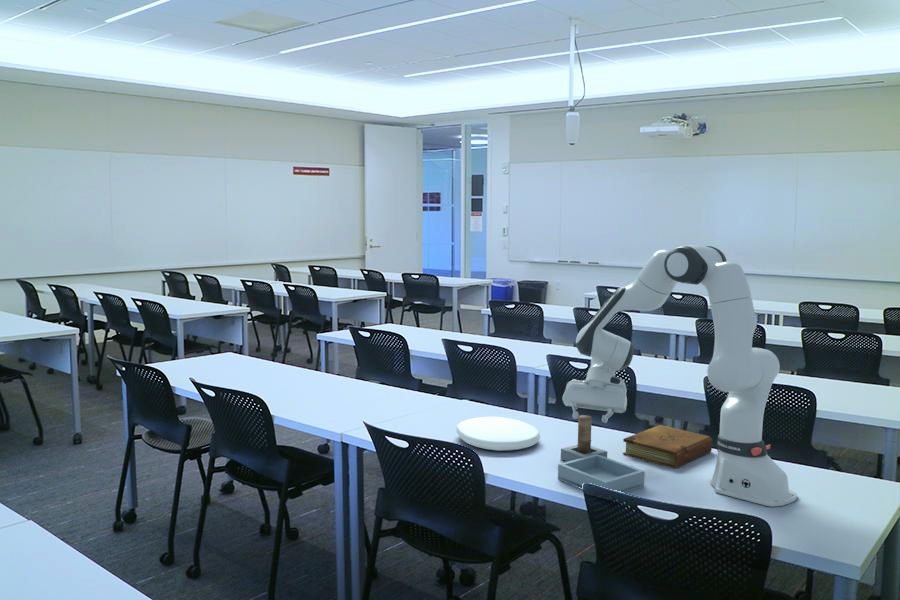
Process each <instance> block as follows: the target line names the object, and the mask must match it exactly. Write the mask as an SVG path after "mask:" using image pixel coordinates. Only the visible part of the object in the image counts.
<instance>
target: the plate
mask: <svg viewBox="0 0 900 600" xmlns="http://www.w3.org/2000/svg"><path fill="white" fill-rule="evenodd" d="M456 433H457V435H458V437H459V438H460V439H461V440H462V441H463V442H465V443H466V444H469V445H471V446H473V447H476V448H479V449H485V450H490V451H497V452H500V451H504V452H505V451H516V450H521V449H526V448H530V447H532V446H534V445H536V444H538V443H539V441H540V439H541V436H540V432H539V431H538V429H537V428H536V427H534V426H533V425H532V424H529V423H527V422H525V421H522V420H518V419H515V418H509V417H503V416H482V417H481V416H480V417H474V418H473V417H472V418H470V419H465V420H462V421H461V422H459V423H458V424H457V426H456Z"/></svg>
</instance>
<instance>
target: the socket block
mask: <svg viewBox="0 0 900 600" xmlns="http://www.w3.org/2000/svg"><path fill="white" fill-rule="evenodd" d="M577 449H578V444H574V445H571V446H567V447H563V448H560V460H561V459H562V460H561V461H563V460H565V461H564V462H566V461H567V462H568V461H572V460H576V459H580V458H584V457H587V456H591V455H595V454H598V455H601V456H604V457H606V458H608V451H607V450H604V449H601V448H599V447H595V446H593V445H591V453H588V454H582V453H579V452H577Z"/></svg>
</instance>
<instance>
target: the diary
mask: <svg viewBox="0 0 900 600" xmlns="http://www.w3.org/2000/svg"><path fill="white" fill-rule="evenodd" d="M622 440H623V441H622V442H623V443H625V452H622V455H623V454H624V456H627V455H628V457H631V458H634V457H635V459H638V458H639V460H642V459H643V460H642V461H646V462H649V461H650V463H653V462H654V464H657V465H661V466H664V465H665V466H664V467H669V468H673V469H678V468H680V467H682V466H684V465H686V464H689V463H691V462H693V461H695V460H696V459H699V458H701V457H702V456H704V455H707V454H709V453H711V452H712V448H713V447H712V445H713V438H712V437H711V436H709V435H707V434H706V435H705V434H701V433H696V432H694V431H693V432H692V431H688V430H684V429H679V428H676V427H671V426H666V425H662V424H658V425H655V426H654V427H653V426H652V427H651V428H648V429H645V430H643V431H640V432H638V433H635V434H632V435H630V436H627V437H624V438H623V439H622Z"/></svg>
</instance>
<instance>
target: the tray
mask: <svg viewBox="0 0 900 600" xmlns="http://www.w3.org/2000/svg"><path fill="white" fill-rule="evenodd" d="M557 465H558V466H557V480H558V479H559V481H561V482H564V483H566V484H568V483H569V485H570V484H571V485H570V486H573V485H574V486H573V487H575V486H577V487H576V488H578V487H580V488H582V484H583V483H592V484H595V485H598V486H602V487H605V488H608V489H612V490H617V491H621V492H625V493H624V494H626V493H628V491H629V492H631V491H636V490H639V489H641V488H644V487H645V478H646V477H645V475H646V474H645V473H646V471H645V470H643V469H640V468H637V467H634V466H631V465H629V464H625V463H623V462H620V461H617V460H615V459H612V458H609V457H607V458H606V457H604V456H601V455H598V454H595V455H591V456H587V457H584V458H580V459H576V460H572V461H568V462H566V461H564V462H561V463H558V464H557ZM580 488H579V489H580Z"/></svg>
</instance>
